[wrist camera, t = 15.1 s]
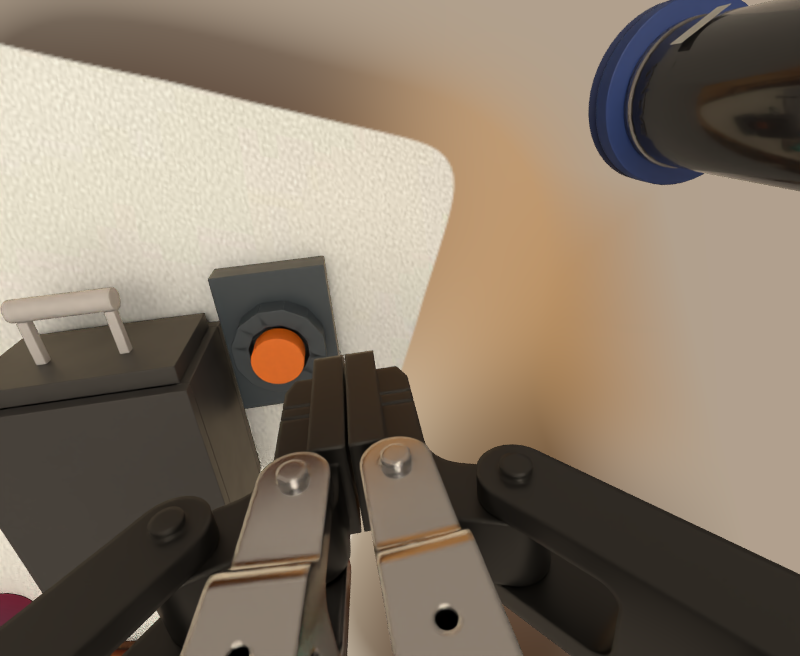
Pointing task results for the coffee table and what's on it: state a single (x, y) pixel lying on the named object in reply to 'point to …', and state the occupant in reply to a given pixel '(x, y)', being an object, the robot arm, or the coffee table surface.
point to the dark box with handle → (92, 350)
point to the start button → (278, 356)
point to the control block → (273, 317)
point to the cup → (11, 606)
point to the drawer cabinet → (121, 460)
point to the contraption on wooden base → (122, 648)
